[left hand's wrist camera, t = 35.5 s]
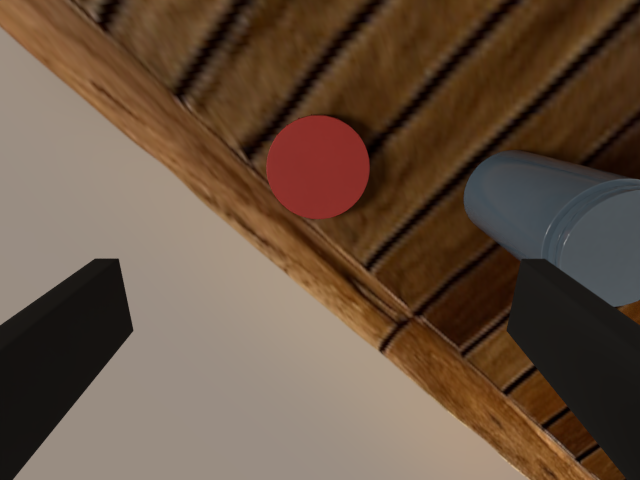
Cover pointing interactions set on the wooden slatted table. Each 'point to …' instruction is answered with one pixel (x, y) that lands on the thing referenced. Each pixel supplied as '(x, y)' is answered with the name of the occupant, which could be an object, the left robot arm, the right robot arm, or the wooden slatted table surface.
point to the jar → (562, 218)
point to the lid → (318, 167)
